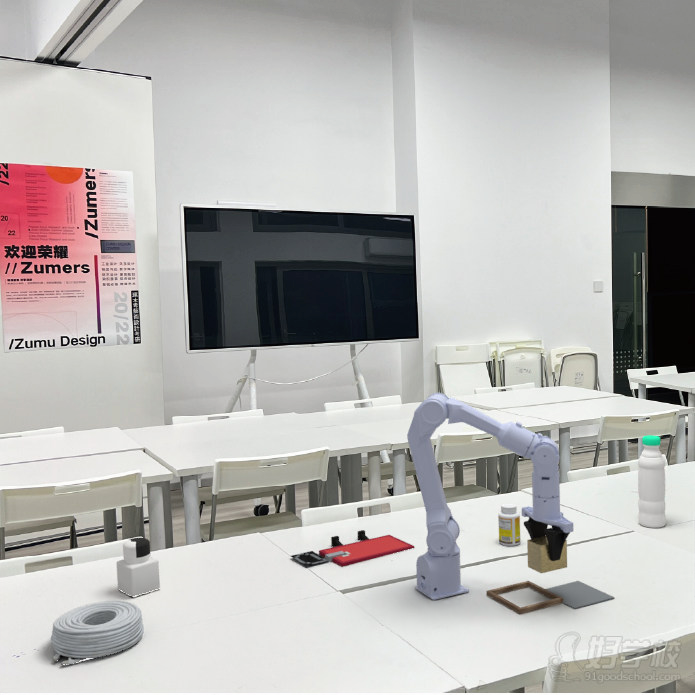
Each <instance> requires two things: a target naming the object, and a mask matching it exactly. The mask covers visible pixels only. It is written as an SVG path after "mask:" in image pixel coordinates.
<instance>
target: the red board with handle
mask: <svg viewBox="0 0 695 695" xmlns="http://www.w3.org/2000/svg"><path fill="white" fill-rule="evenodd" d="M362 539H363V540H362ZM359 540H360V541H359ZM330 543H331V547H329V548H328V547H327V548H324V549H320V550H318V553H317V552H315V551H313V550H311V551H310V550H309V551H306V552H300V553H296V554H293V555H290V557H292V558H293V559H294V560H295V561H298V562H299V563H301V564H303V565H305V567H306V566H310V565H311V566H312V565H315V564H319V563H324V562H327V563H329V562H330V563H334V564H335V565H337V566H340V567H341V568H343V567H347V566H351V565H355V564H358V563H364V562H366V561H370V560H374V559H378V558H382V557H385V556H389V555H393V553H394V554H397V552H398V553H401V552H404V550H405V551H408V549H409V550H413V549H415V545H413V544H410V543H408V542H407V541H404V540H402V539H400V538H398V537H395V536H393V535H391V534H387V535H382V536H377V537H374V538H373V537H371V538H369V537H368V536H367V535H366V530H363V529H362V530H357V541H356V542H351V543H347V544H343V543H342V542H341V541H340V536H338V535H334V536H331V537H330ZM332 546H333V547H332ZM335 546H336V547H335ZM412 548H413V549H412Z"/></svg>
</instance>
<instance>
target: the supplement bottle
mask: <svg viewBox="0 0 695 695" xmlns="http://www.w3.org/2000/svg"><path fill="white" fill-rule="evenodd" d="M497 515H498V516H497V518H498V542H499V543H500V545H503V546H507V547H516V546H518V545H519V544H521V517H520V516H521V515H520V512H518V511H517V505H516V504H515V503H502V504H501V505H500V511H499V512H498V514H497Z"/></svg>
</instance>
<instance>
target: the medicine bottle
mask: <svg viewBox="0 0 695 695" xmlns="http://www.w3.org/2000/svg"><path fill="white" fill-rule="evenodd" d="M122 549H123V550H122V552H123V553H122V554H123V559H121V560H118V561H116V562H115V564H116V578H117V579H116V580H117V590H118V589H120V590H122V591H123V592H125V593H127V594H129V595H131V596H135V595H139V594H142V593H146V592H149V591H152V590H155V589H158V588H160V589H161V585H160V584H161V583H160V564H159V560H158V559H156V558H154V557H151V542H150V540H149V539H148V538H145V537H133V538H130V539H127V540H126V541H124V543H123V544H122Z"/></svg>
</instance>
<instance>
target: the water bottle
mask: <svg viewBox="0 0 695 695" xmlns="http://www.w3.org/2000/svg"><path fill="white" fill-rule="evenodd" d="M641 440H642V441H641V442H642V446H643V450H642V451H641V454H640V455H639V458H638V459H637V465H638V472H637V478H638V479H637V488H638V503H637V506H638V520H637V521H638V524H639V525H641V526H642V527H644V528H651V529H659V528H663V527H664V526H665V525H666V501H665V497H666V470H665V467H666V460H665V459H664V457H663V454H662V451H660V446H661V443H662V441H661V437H660V436H658V435H649V434H648V435H643V436H642V438H641Z"/></svg>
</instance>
